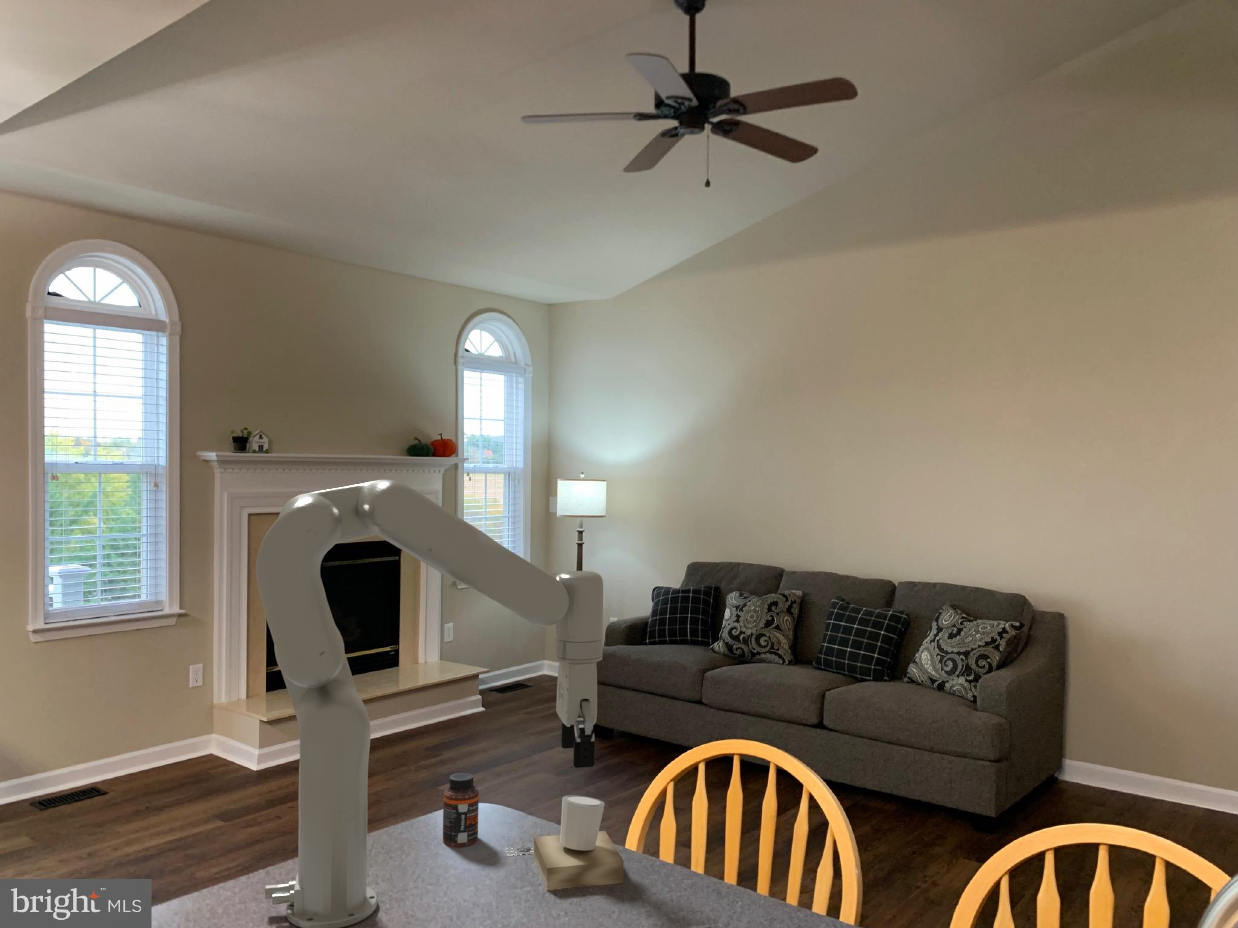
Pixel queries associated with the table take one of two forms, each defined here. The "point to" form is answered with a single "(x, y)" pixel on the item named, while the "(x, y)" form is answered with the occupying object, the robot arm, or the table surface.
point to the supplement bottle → (460, 811)
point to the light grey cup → (580, 822)
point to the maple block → (577, 863)
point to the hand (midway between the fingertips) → (577, 756)
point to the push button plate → (521, 850)
